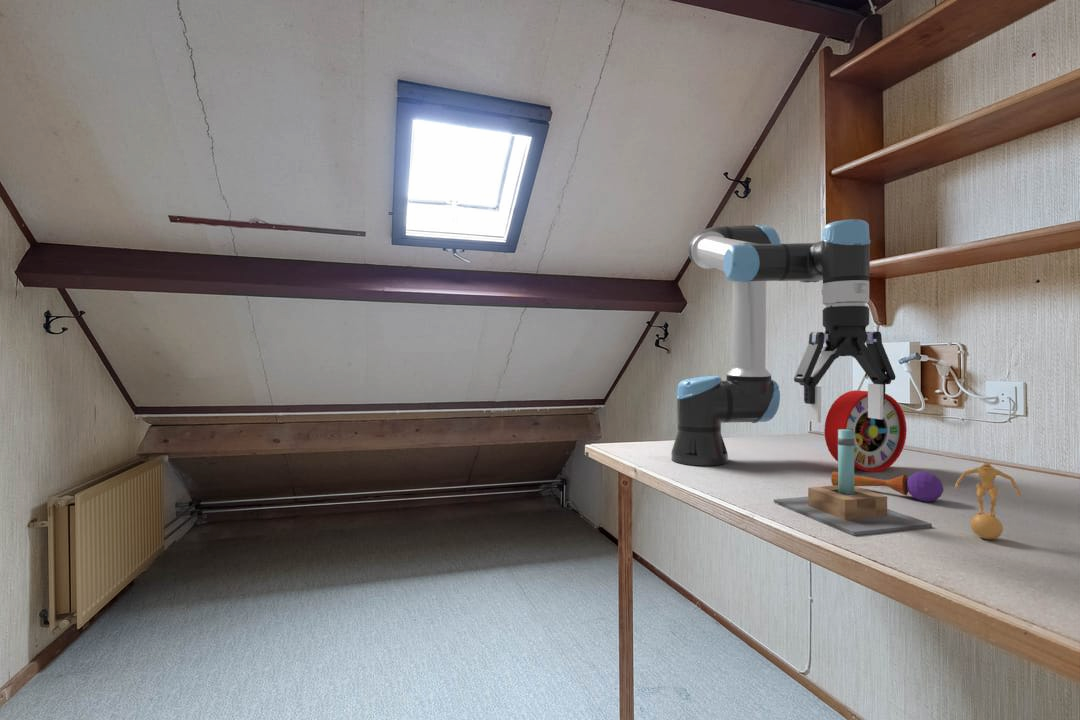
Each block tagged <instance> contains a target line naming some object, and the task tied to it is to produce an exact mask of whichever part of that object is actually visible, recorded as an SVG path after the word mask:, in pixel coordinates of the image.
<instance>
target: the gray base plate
mask: <svg viewBox="0 0 1080 720" xmlns="http://www.w3.org/2000/svg"><path fill="white" fill-rule="evenodd" d="M807 489H808V491H807V493H808V495H807V496H798V497H788V498H785V497H784V498H776V499H775V498H774V499H773V503H774V502H775V503H774V504H776V503H778V504H777V505H779V504H780V505H779V506H781V505H782V507H784V508H786V507H787V508H786V509H788V508H789V509H788V510H791V511H793V512H795V513H799V514H801V515H803V516H805V517H808V518H810V519H812V518H813V519H812V520H814V521H818V522H819V523H822V524H825V525H827V526H829V527H831V528H835V529H837V530H840V531H841V532H843V533H846V534H849V535H851V536H862V535H872V534H880V533H881V534H882V533H891V532H900V531H908V530H916V529H917V530H918V529H928V528H932V527H933V523H931V522H928V521H925V520H922V519H918V518H917V517H913V516H910V515H906V514H903V513H901V512H898V511H895V510H891V509H888V496H887V495H883V494H881V493H877V492H874V491H871V490H867V489H864V488H861V487H859V486H854V495H843V494H840V493H838V485H834V486H833V485H824V486H823V485H822V486H814V487H813V486H812V487H808V488H807Z"/></svg>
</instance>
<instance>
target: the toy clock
mask: <svg viewBox="0 0 1080 720" xmlns="http://www.w3.org/2000/svg"><path fill="white" fill-rule="evenodd" d="M824 421H825V422H824V430H823V431H824V440H825V444H826V447H827V449H828V451H829V453H830V455H831V456H832V458H834V459H835V461H836V462H838V430H840V429H847V430H854V438H855V445H854V469H856V470H861V471H865V472H868V473H869V472H870V473H877V472H883V471H884V470H886V469H888V468H890V467H892V465H893V464H895V463H896V461H897V460H898V458H899V457H900V455H901V454H902V452H903V449H904V447H905V443H906V440H907V430H908V429H907V422H906V416H905V414H904V411H903V408H901V405H900V404H899V403H898V401H897V400H896V399H895V398H894V397H892V396H891V395H889V394H887V393H885V401H883V419H874V418H868V390H857V389H855V390H849V391H847V392H845V393H843V394H840V396H839V397H838V398H836V399H835V400H834V402H833V403H831V406H830V408H829V409H828V412H827V415H826V417H825V420H824Z"/></svg>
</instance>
